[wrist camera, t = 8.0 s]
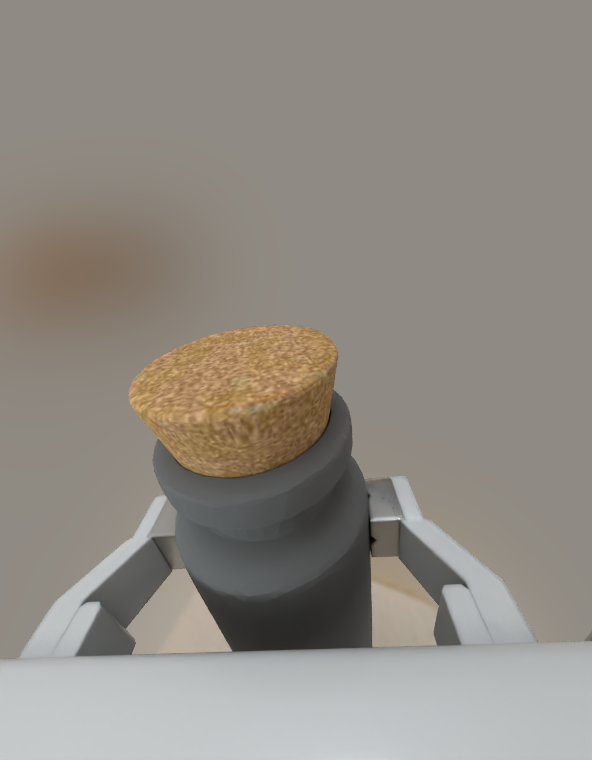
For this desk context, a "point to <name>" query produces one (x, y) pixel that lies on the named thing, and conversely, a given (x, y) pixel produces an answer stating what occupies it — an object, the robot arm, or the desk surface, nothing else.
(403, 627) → the desk surface
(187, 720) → the robot arm
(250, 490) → the bottle
